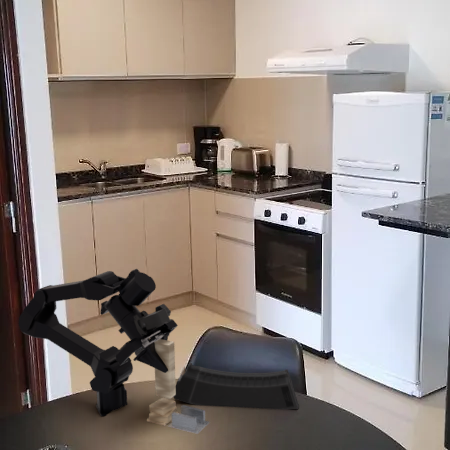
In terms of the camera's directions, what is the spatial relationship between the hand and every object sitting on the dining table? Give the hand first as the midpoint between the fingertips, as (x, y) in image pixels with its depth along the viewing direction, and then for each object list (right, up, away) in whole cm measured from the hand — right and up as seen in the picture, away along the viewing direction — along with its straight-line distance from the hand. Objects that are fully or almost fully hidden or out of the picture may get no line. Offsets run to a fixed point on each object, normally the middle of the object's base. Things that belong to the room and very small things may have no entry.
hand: (170, 369), depth 150 cm
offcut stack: (-2, -13, +4) cm, 14 cm away
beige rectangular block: (-1, -6, +2) cm, 7 cm away
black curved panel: (+15, -12, +10) cm, 22 cm away
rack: (+4, -14, 0) cm, 14 cm away
